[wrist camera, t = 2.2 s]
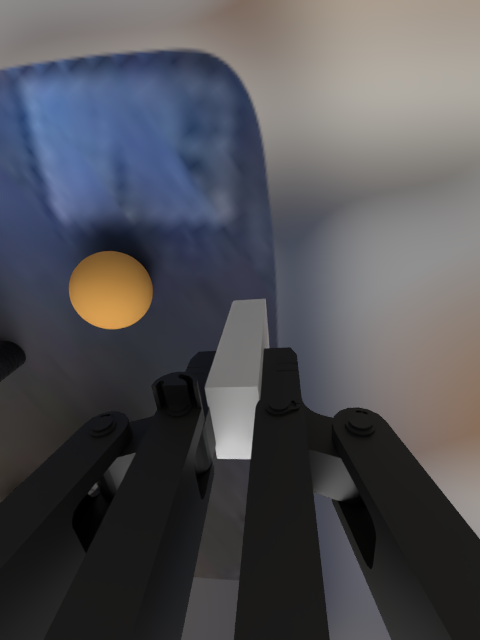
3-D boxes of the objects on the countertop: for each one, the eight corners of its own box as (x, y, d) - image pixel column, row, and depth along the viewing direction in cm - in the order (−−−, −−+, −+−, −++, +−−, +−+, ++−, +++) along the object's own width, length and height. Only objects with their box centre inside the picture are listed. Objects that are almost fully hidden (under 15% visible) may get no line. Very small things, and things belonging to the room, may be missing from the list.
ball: (105, 312, 27) (67, 345, 22) (85, 246, 24) (37, 266, 19) (168, 308, 26) (144, 341, 21) (154, 240, 24) (123, 259, 19)
